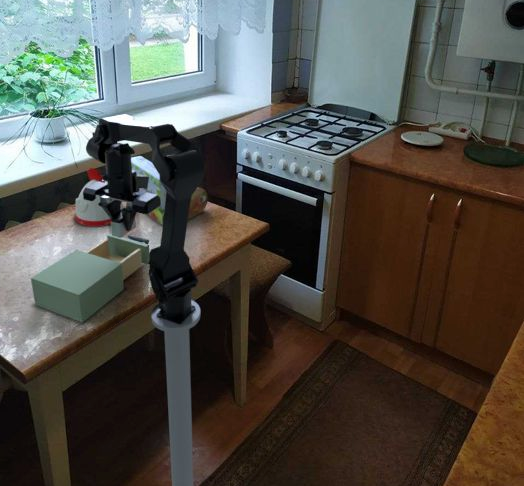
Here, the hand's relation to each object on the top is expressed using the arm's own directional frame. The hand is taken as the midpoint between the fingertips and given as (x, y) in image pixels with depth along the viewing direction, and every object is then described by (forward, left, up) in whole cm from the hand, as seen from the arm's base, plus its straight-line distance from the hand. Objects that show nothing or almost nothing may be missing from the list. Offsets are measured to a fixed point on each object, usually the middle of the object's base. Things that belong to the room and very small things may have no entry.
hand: (124, 229), depth 120 cm
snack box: (+15, -30, -12) cm, 36 cm away
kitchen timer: (+27, -20, -12) cm, 35 cm away
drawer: (+2, 0, -11) cm, 11 cm away
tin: (+3, -33, -12) cm, 35 cm away
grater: (0, 0, -1) cm, 1 cm away
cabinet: (+2, +14, -12) cm, 18 cm away
